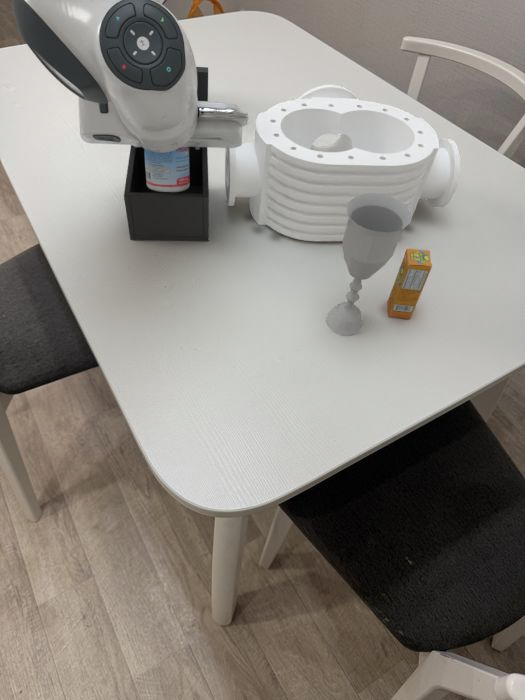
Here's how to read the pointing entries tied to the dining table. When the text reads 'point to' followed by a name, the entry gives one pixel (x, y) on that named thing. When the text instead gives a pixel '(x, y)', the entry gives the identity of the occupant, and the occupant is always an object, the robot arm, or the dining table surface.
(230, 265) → the dining table surface
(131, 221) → the box
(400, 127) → the housing
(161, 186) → the pill bottle
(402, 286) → the supplement box
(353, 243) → the chalice
